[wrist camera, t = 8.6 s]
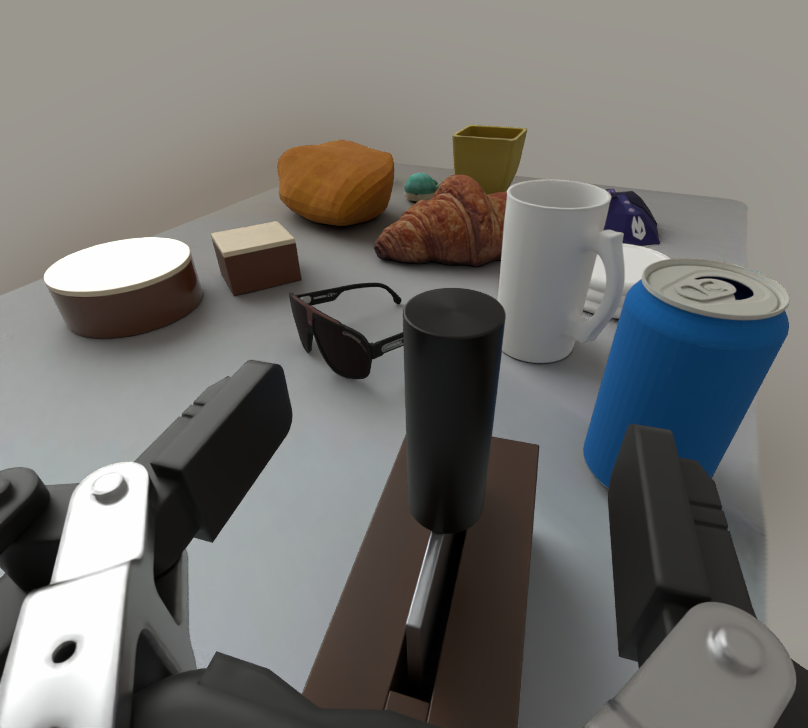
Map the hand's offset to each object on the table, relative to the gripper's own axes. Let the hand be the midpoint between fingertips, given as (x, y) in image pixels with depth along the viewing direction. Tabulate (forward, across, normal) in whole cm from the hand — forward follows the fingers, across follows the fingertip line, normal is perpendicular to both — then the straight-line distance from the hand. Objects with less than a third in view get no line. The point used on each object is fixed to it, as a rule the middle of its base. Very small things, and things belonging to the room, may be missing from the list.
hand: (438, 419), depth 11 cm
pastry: (+45, +6, +14) cm, 47 cm away
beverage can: (+14, -9, +14) cm, 22 cm away
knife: (+2, 0, +14) cm, 14 cm away
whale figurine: (+63, +16, +14) cm, 67 cm away
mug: (+25, -4, +14) cm, 29 cm away
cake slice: (+32, +26, +14) cm, 44 cm away
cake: (+23, +35, +14) cm, 44 cm away
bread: (+52, +26, +14) cm, 60 cm away
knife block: (+2, 0, +14) cm, 14 cm away
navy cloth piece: (+57, -10, +14) cm, 59 cm away
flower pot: (+65, +7, +14) cm, 67 cm away
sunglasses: (+23, +11, +14) cm, 29 cm away
